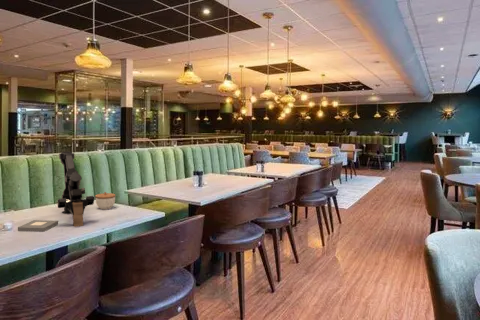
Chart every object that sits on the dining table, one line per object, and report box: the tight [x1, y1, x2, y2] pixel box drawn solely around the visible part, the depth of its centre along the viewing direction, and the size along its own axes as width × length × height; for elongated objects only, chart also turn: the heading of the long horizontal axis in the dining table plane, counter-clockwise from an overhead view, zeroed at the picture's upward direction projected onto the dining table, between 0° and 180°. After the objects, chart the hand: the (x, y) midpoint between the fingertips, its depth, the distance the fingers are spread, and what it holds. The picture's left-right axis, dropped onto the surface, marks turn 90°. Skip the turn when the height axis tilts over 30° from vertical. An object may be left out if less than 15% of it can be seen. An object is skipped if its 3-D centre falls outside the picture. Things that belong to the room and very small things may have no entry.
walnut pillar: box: [72, 202, 84, 228], centre depth 197 cm, size 5×5×13 cm
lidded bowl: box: [94, 191, 116, 210], centre depth 237 cm, size 13×13×11 cm
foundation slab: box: [17, 219, 59, 233], centre depth 192 cm, size 14×14×2 cm
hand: (78, 214), depth 196 cm, fingers closed on walnut pillar, 5 cm apart
